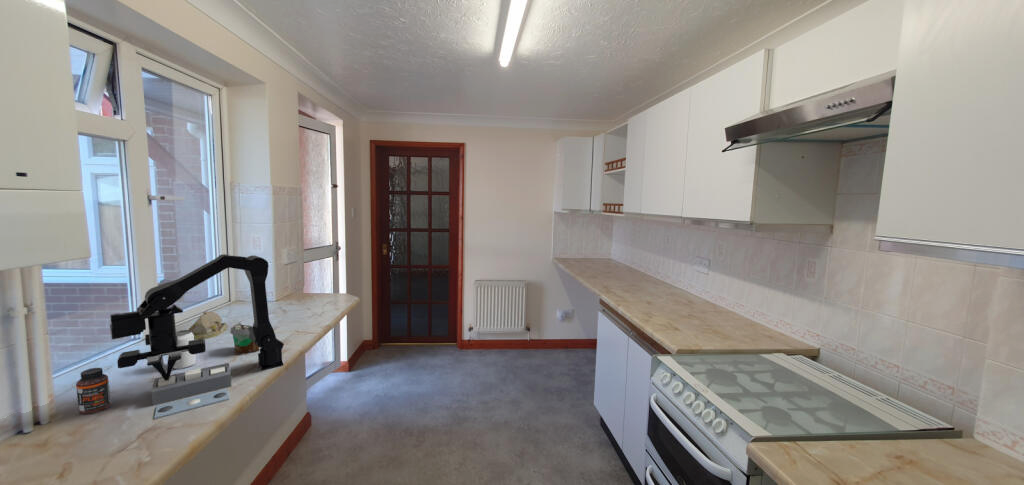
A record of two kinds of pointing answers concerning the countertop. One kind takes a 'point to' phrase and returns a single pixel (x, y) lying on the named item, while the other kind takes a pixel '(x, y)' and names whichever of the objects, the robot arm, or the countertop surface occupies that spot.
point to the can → (186, 357)
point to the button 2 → (217, 370)
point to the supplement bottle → (93, 391)
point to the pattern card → (191, 403)
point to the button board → (191, 385)
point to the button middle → (193, 374)
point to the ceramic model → (208, 326)
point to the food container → (243, 339)
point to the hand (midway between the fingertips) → (167, 379)
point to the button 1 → (166, 381)
